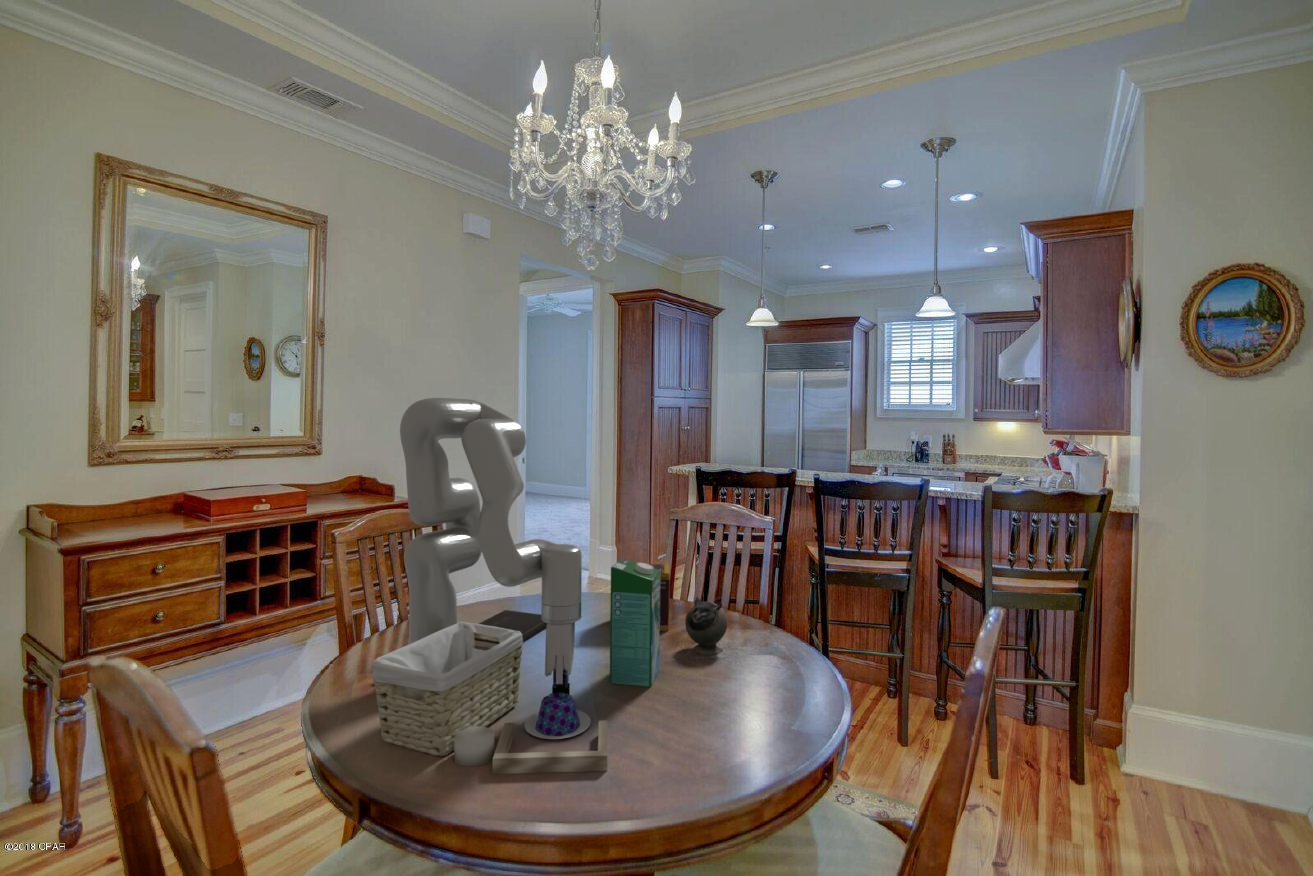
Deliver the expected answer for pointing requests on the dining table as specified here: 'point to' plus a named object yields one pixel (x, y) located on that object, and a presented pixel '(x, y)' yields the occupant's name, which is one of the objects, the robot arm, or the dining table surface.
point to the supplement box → (664, 595)
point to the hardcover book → (513, 625)
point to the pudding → (557, 718)
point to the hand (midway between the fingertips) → (560, 705)
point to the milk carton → (634, 623)
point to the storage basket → (446, 685)
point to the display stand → (548, 757)
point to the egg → (474, 746)
